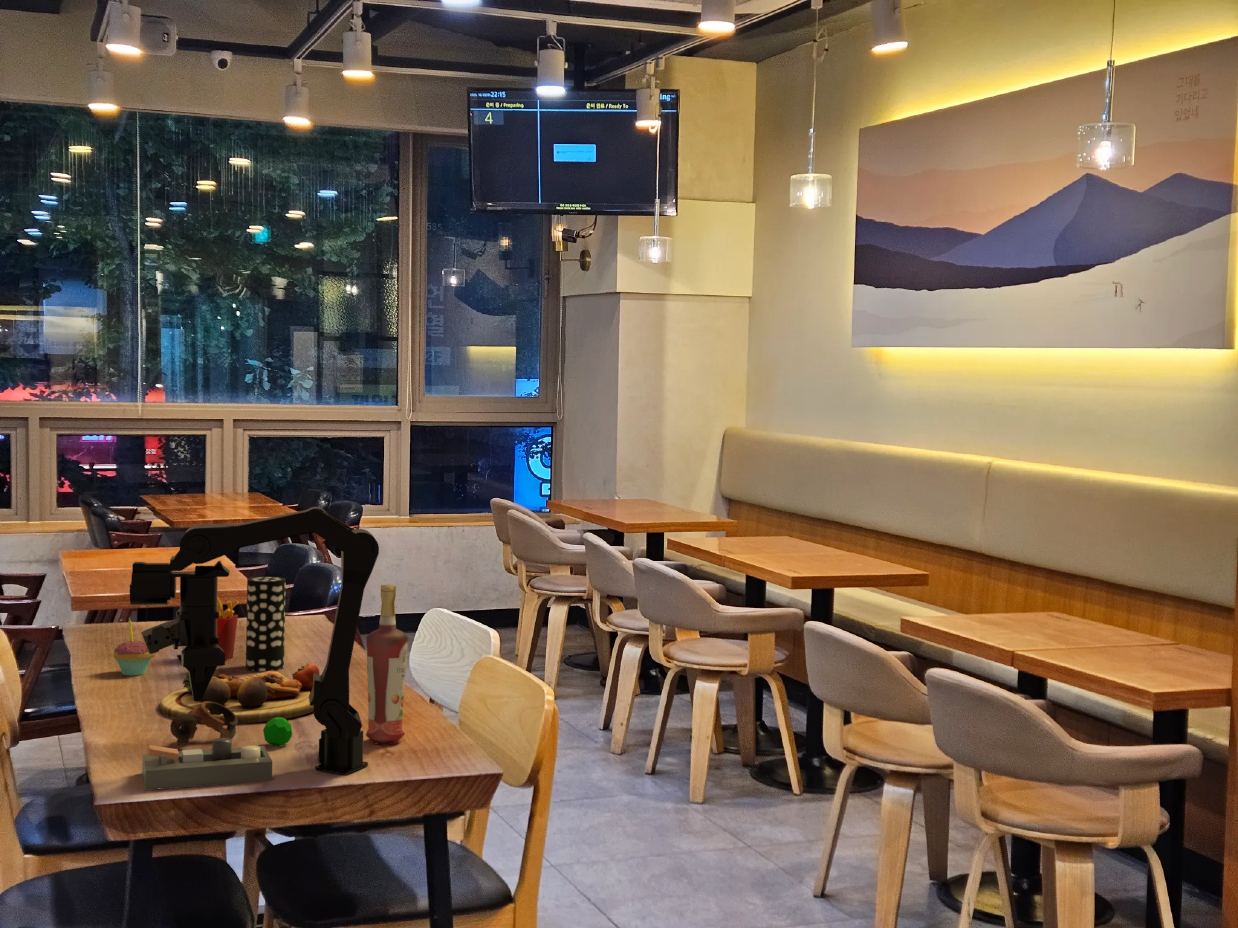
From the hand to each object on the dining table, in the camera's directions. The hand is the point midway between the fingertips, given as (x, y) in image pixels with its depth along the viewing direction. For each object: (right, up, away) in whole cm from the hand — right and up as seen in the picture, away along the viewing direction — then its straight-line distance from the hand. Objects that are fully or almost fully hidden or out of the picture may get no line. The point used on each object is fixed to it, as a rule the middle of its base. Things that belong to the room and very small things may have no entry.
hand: (197, 700), depth 212 cm
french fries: (-26, -7, +93) cm, 97 cm away
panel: (+2, -12, 0) cm, 12 cm away
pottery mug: (-5, -11, +19) cm, 23 cm away
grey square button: (0, -11, -1) cm, 11 cm away
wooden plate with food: (-6, -10, +49) cm, 50 cm away
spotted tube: (-12, -8, +85) cm, 86 cm away
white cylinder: (+8, -11, +2) cm, 14 cm away
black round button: (+4, -9, 0) cm, 10 cm away
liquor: (+26, -12, +24) cm, 37 cm away
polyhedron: (+8, -12, +20) cm, 24 cm away
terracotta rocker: (-4, -8, -3) cm, 9 cm away
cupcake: (-38, -8, +75) cm, 84 cm away
